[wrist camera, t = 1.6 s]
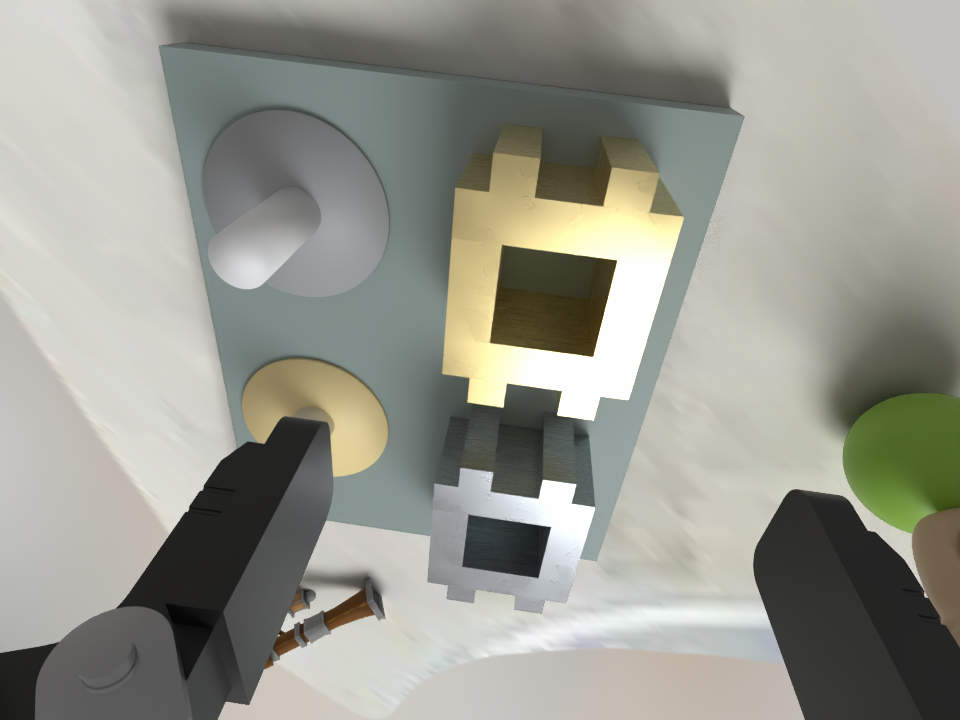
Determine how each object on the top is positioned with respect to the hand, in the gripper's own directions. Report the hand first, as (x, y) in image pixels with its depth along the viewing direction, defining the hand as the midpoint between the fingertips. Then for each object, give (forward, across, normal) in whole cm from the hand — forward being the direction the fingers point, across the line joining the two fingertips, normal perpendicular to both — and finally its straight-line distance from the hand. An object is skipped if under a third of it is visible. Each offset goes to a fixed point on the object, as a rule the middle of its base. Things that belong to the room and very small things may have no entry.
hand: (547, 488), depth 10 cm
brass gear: (+12, 0, 0) cm, 12 cm away
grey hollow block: (+11, 0, +11) cm, 16 cm away
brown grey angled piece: (+13, +10, +25) cm, 30 cm away
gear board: (+13, +4, +6) cm, 15 cm away
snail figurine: (+13, -15, +6) cm, 21 cm away
